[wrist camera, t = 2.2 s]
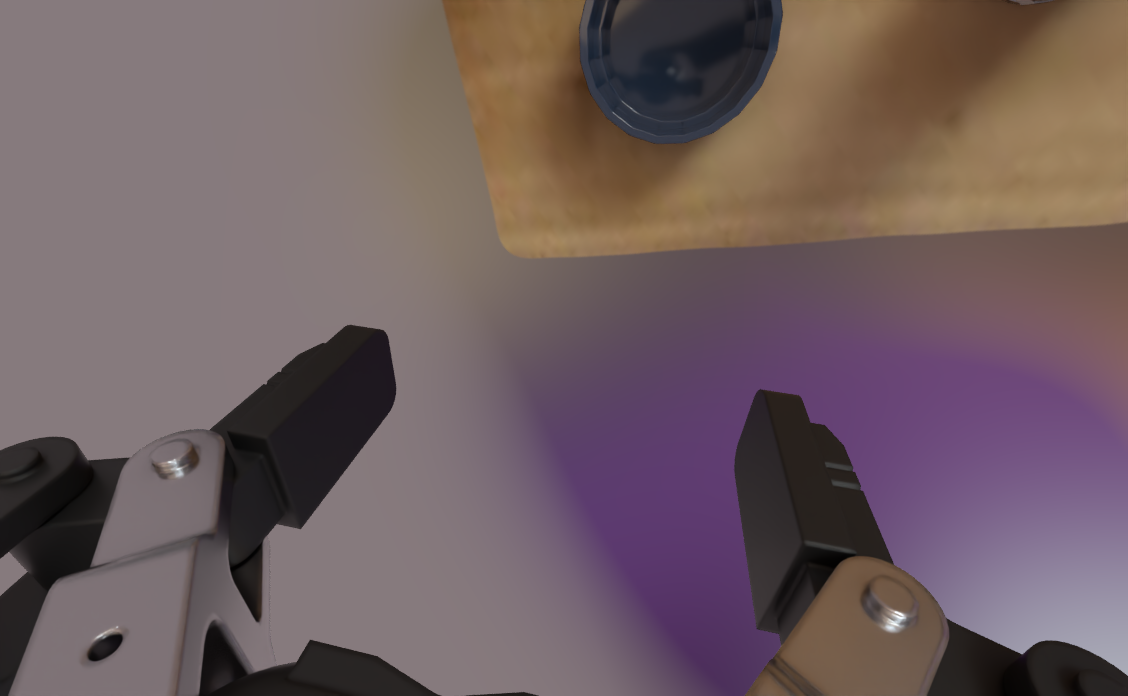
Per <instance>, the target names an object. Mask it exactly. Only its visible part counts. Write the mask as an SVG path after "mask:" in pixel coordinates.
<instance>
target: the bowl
mask: <svg viewBox="0 0 1128 696" xmlns="http://www.w3.org/2000/svg"><path fill="white" fill-rule="evenodd" d="M782 16H783V10H782V2H781V0H586V1H585V5H584V9H583V14H582V18H581V22H580V27H579V34H580V62H581V66H582V69H583V72H584V76H585V79H586V82H587V85H588V89H589V92H590V94H591V96H592V97H593V99H594V100H595V101H596V103H597V104H598V106H599V107H600V109H601V110H602V112H603V113H604V115H605V116H606V118H607V119H609V120H610V121H611V122H613V123H614V124H615V125H616V126H618V127H619V128H620V129H622V130H623V131H624V132H626V133H627V134H628V135H630V136H633V137H636V138H639V139H642V140H645V141H648V142H651V143H654V144H655V143H656V144H675V143H686V142H689V141H692V140H695V139H698V138H701V137H704V136H706V135H709V134H712V133H714V132H715V131H717V130H718V129H719V128H721V127H722V126H724V125H725V124H726V123H728V122H729V121H730V120H732V119H733V118H735V117H736V116H737V115H739V113H741V111H742V110H743V109H744V108H745V106H746V105H747V104H748V103H749V101H750V100H751V99H752V98H753V96H754V95H755V94H756V93H757V91H758V90H759V89H760V88H761V86H762V84H763V82H764V80H765V78H766V75H767V73H768V71H769V69H770V66H771V64H772V62H773V60H774V57H775V55H776V52H777V48H778V42H779V36H780V29H781V23H782Z"/></svg>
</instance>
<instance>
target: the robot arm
mask: <svg viewBox="0 0 1128 696" xmlns="http://www.w3.org/2000/svg"><path fill="white" fill-rule="evenodd" d="M1002 1H1005V2H1009V3H1014V4H1021V5H1028V4H1035V3H1043V2H1049V1H1053V0H1002ZM395 395H396V382H395V376H394V370H393V364H392V358H391V352H390V346H389V340H388V336H387V334H386V332H384V331H383V330H380V329H374V328H367V327H361V326H354V325H347V326H345V327H344V328H343V329H342V330H340V331H339V332H338V333H337V334H336V335H335V336H334V337H332V338H331V339H330V340H329V341H328V342H327V343H322V344H320V345H317V346H315V347H313V348H311V349H309V350H307V351H305V352H303V353H301V354H299V355H298V356H296V357H295V358H294V359H293V360H292V361H290V362H289V363H288V364H287V365H286V366H285V367H283V368H282V371H281V372H278V373H276V374H275V375H274V376H273V377H272V378H270V379H269V380H268V381H267V384H266V385H265V384H263V385H262V386H261V387H260V388H258V389H257V390H256V391H255V392H254V393H253V394H251V395H250V396H249V397H248V398H247V399H245V400H244V401H243V402H242V403H241V404H240V405H238V406H237V407H236V408H235V409H234V410H233V411H231V412H230V413H229V414H228V415H227V416H225V417H224V418H223V419H222V420H221V421H219V422H218V423H217V424H216V425H215V426H213V427H212V428H211V429H210V430H204V429H194V430H186V431H180V432H177V433H173V434H170V435H167V436H164V437H162V438H160V439H157V440H155V441H153V442H152V443H150V444H148V445H146V446H145V447H143V448H142V449H140V450H139V451H138V452H137V453H135V454H134V455H133V456H132V457H131V458H118V459H103V460H87V458H86V457H85V456H84V454H83V453H82V451H81V450H80V448H79V447H78V445H77V444H76V443H75V442H74V441H73V440H71V439H68V438H64V437H45V438H38V439H33V440H29V441H25V442H22V443H19V444H16V445H13V446H10V447H8V448H5V449H3V450H0V558H2V557H3V556H4V555H5V554H6V553H8V552H10V553H11V554H12V555H13V556H14V558H16V559H17V561H18V562H19V563H20V564H21V565H22V566H23V567H24V568H25V569H26V570H27V571H28V572H27V573H26V574H25V575H24V576H22V577H21V578H20V579H19V580H18V581H17V582H16V583H14V584H13V585H12V586H11V587H10V588H9V589H8V590H6V591H5V592H4V593H3V594H2V595H1V596H0V696H440V695H437V694H436V693H434V692H432V691H430V690H429V689H427V688H426V687H424V686H423V685H421V684H420V683H418V682H416V681H415V680H413V679H412V678H410V677H409V676H407V675H406V674H404V673H402V672H401V671H399V670H398V669H396V668H395V667H393V666H391V665H390V664H388V663H387V662H385V661H383V660H382V659H381V658H379V657H378V656H374V655H370V654H366V653H362V652H358V651H354V650H350V649H346V648H341V647H337V646H333V645H329V644H325V643H321V642H317V641H313V640H310V641H309V643H308V644H307V646H306V647H305V649H304V651H303V652H302V654H301V656H300V657H299V659H298V661H297V662H294V663H288V664H283V665H278V666H277V664H276V659H275V655H274V652H273V648H272V643H271V636H270V543H269V540H268V538H267V535H268V534H269V532H270V531H271V530H272V529H273V528H274V526H275V525H276V524H279V525H284V526H289V527H294V528H298V529H301V528H302V527H303V526H304V524H305V523H306V522H307V520H308V519H309V518H310V516H311V515H312V514H313V512H314V511H315V510H316V508H317V507H318V506H319V504H320V503H321V502H322V500H323V499H324V498H325V497H326V495H327V494H328V492H329V491H330V490H331V489H332V487H333V486H334V485H335V483H336V482H337V481H338V479H339V478H340V476H341V475H342V474H343V473H344V471H345V470H346V469H347V468H348V466H349V465H350V464H351V462H352V461H353V460H354V458H355V457H356V456H357V454H358V453H359V452H360V450H361V449H362V448H363V446H364V445H365V444H366V442H367V441H368V440H369V438H370V437H371V436H372V435H373V433H374V432H375V431H376V429H377V428H378V427H379V425H380V424H381V423H382V421H383V420H384V419H385V417H386V416H387V415H388V413H389V412H390V410H391V408H392V406H393V404H394V400H395ZM734 467H735V479H736V487H737V493H738V501H739V508H740V515H741V522H742V529H743V536H744V543H745V550H746V556H747V563H748V570H749V578H750V585H751V592H752V599H753V606H754V612H755V619H756V627H757V629H759V630H764V631H768V632H772V633H778V634H779V636H780V641H781V648H780V649H779V651H778V652H777V653H776V655H775V656H774V658H773V659H771V660H770V661H769V662H768V664H767V665H766V666H765V668H764V669H763V671H762V672H761V673H760V675H759V676H758V678H757V679H756V681H755V682H754V683H753V685H752V686H751V688H750V689H749V691H748V692H747V693H746V695H745V696H1128V676H1127V675H1126V674H1125V673H1123V672H1122V671H1121V670H1119V669H1118V668H1117V667H1115V666H1114V665H1112V664H1110V663H1109V662H1107V661H1106V660H1104V659H1102V658H1101V657H1099V656H1097V655H1095V654H1093V653H1091V652H1089V651H1087V650H1085V649H1082V648H1080V647H1078V646H1075V645H1072V644H1069V643H1065V642H1060V641H1042V642H1038V643H1037V644H1035V645H1033V646H1032V647H1031V648H1030V649H1028V650H1027V651H1026V652H1025V653H1024V654H1020V653H1018V652H1015V651H1013V650H1011V649H1009V648H1007V647H1005V646H1003V645H1000V644H998V643H996V642H994V641H992V640H990V639H988V638H985V637H983V636H981V635H979V634H977V633H975V632H972V631H970V630H968V629H966V628H964V627H962V626H960V625H958V624H956V623H954V622H952V621H950V620H949V619H947V618H946V617H945V615H944V613H943V611H942V609H941V607H940V606H939V604H938V602H937V601H936V600H935V598H934V597H933V596H932V595H931V593H930V592H929V591H928V590H927V589H926V588H925V587H924V586H923V585H922V584H921V583H920V582H918V581H917V580H916V579H915V578H914V577H912V576H911V575H909V574H908V573H907V572H905V571H904V570H902V569H900V568H898V567H897V566H895V565H894V564H893V561H892V559H891V557H890V554H889V552H888V549H887V547H886V544H885V542H884V540H883V538H882V535H881V533H880V530H879V528H878V525H877V523H876V521H875V519H874V516H873V514H872V511H871V509H870V507H869V504H868V502H867V500H866V497H865V495H864V492H863V491H861V490H860V487H861V485H860V483H859V480H858V478H857V476H856V473H855V472H853V466H852V464H851V462H850V459H849V457H848V454H847V452H846V450H845V447H844V445H843V444H842V443H841V442H840V441H839V440H838V439H837V438H836V437H835V436H834V435H833V433H832V432H831V431H830V430H829V429H828V428H827V427H826V426H825V425H821V424H815V423H810V421H809V417H808V415H807V412H806V409H805V406H804V403H803V401H802V398H801V397H800V396H799V395H793V394H786V393H780V392H774V391H767V390H761V389H760V390H758V392H757V393H756V395H755V397H754V400H753V402H752V405H751V408H750V411H749V414H748V417H747V419H746V422H745V425H744V428H743V431H742V434H741V437H740V439H739V442H738V445H737V449H736V455H735V465H734ZM469 696H537V695H533V694H529V693H525V692H519V693H502V694H487V695H469Z"/></svg>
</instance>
